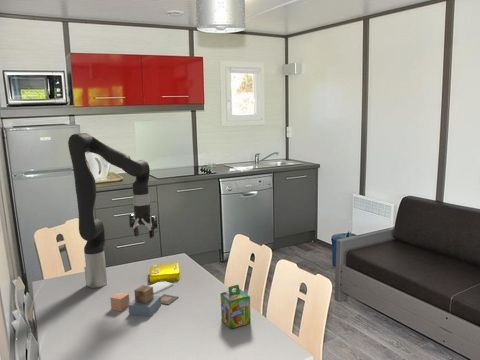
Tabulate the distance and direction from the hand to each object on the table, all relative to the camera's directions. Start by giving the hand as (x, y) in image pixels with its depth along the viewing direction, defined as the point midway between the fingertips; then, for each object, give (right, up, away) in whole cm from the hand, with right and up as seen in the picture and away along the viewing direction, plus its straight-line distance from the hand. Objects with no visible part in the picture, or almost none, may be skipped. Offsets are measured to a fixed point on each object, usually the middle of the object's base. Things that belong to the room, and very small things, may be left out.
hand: (144, 236), depth 196 cm
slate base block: (+4, -29, -17) cm, 34 cm away
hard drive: (+6, -26, +5) cm, 27 cm away
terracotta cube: (-7, -29, -14) cm, 33 cm away
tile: (+12, -27, -8) cm, 31 cm away
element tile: (+6, -24, +20) cm, 32 cm away
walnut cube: (+4, -25, -18) cm, 31 cm away
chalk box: (+44, -30, -30) cm, 61 cm away
